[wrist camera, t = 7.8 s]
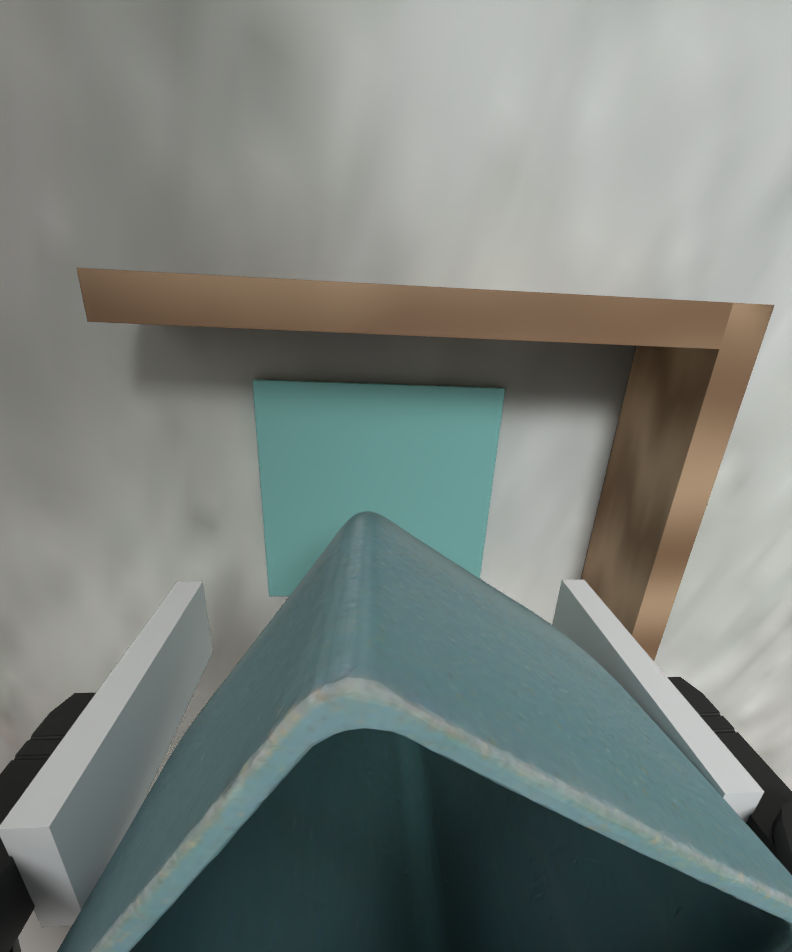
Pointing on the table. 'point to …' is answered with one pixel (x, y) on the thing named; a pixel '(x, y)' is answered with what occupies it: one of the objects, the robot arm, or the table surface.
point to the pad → (373, 466)
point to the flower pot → (428, 791)
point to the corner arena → (531, 319)
